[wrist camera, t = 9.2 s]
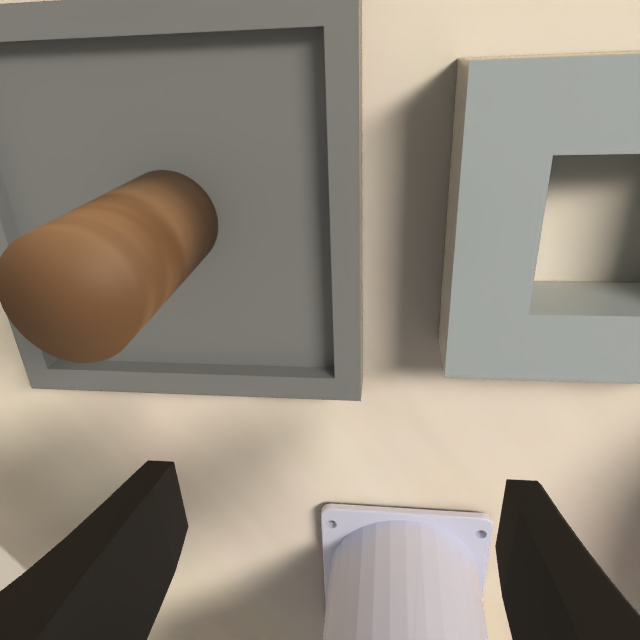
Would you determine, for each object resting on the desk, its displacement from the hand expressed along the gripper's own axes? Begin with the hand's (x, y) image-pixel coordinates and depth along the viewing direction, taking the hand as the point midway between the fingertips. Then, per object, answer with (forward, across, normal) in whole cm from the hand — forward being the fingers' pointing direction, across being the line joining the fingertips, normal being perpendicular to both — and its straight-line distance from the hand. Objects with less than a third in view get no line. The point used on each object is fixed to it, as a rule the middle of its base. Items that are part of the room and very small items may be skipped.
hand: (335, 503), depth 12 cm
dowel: (+10, +7, -3) cm, 12 cm away
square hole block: (+10, -8, -3) cm, 14 cm away
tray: (+10, +7, -3) cm, 13 cm away
